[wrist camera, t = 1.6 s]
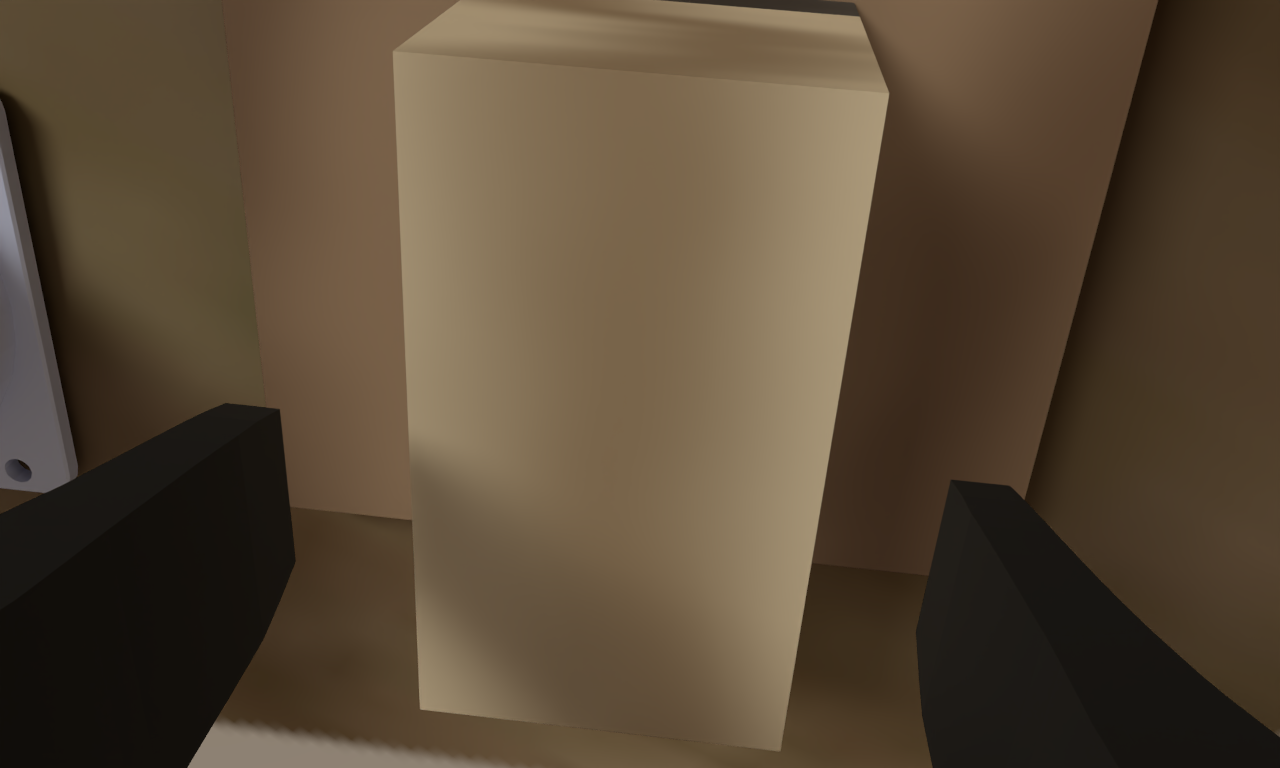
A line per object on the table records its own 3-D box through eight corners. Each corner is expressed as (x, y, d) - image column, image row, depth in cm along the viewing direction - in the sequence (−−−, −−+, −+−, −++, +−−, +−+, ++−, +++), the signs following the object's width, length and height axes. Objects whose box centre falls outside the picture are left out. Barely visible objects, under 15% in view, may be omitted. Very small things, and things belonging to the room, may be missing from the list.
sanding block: (494, 505, 20) (420, 709, 16) (494, -27, 16) (391, 50, 12) (776, 536, 20) (779, 751, 16) (855, 2, 16) (888, 92, 11)
